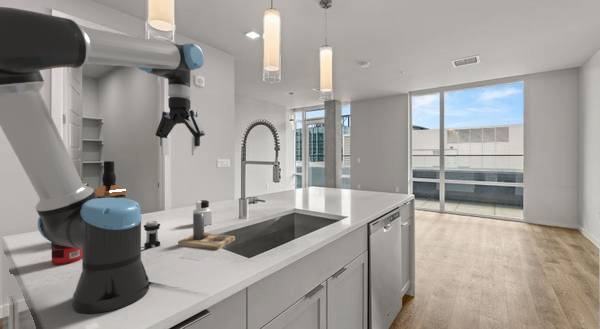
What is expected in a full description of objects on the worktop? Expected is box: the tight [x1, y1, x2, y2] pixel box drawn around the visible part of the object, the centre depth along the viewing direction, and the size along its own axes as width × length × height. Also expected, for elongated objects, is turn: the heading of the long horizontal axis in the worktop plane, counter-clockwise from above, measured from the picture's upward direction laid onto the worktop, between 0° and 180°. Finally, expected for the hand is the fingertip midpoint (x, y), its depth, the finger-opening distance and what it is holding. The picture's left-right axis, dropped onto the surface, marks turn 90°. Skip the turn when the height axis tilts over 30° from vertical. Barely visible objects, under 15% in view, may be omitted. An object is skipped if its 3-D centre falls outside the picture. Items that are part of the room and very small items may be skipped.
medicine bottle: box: [192, 199, 213, 226], centre depth 134 cm, size 7×7×12 cm
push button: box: [141, 220, 161, 252], centre depth 96 cm, size 7×5×10 cm
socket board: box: [177, 232, 236, 251], centre depth 102 cm, size 12×17×3 cm
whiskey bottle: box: [93, 160, 127, 199], centre depth 112 cm, size 10×10×32 cm
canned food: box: [50, 242, 82, 266], centre depth 86 cm, size 8×8×11 cm
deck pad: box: [178, 249, 214, 261], centre depth 89 cm, size 8×8×1 cm
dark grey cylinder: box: [192, 212, 205, 241], centre depth 103 cm, size 4×4×12 cm
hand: (179, 155), depth 99 cm, fingers open, 13 cm apart
